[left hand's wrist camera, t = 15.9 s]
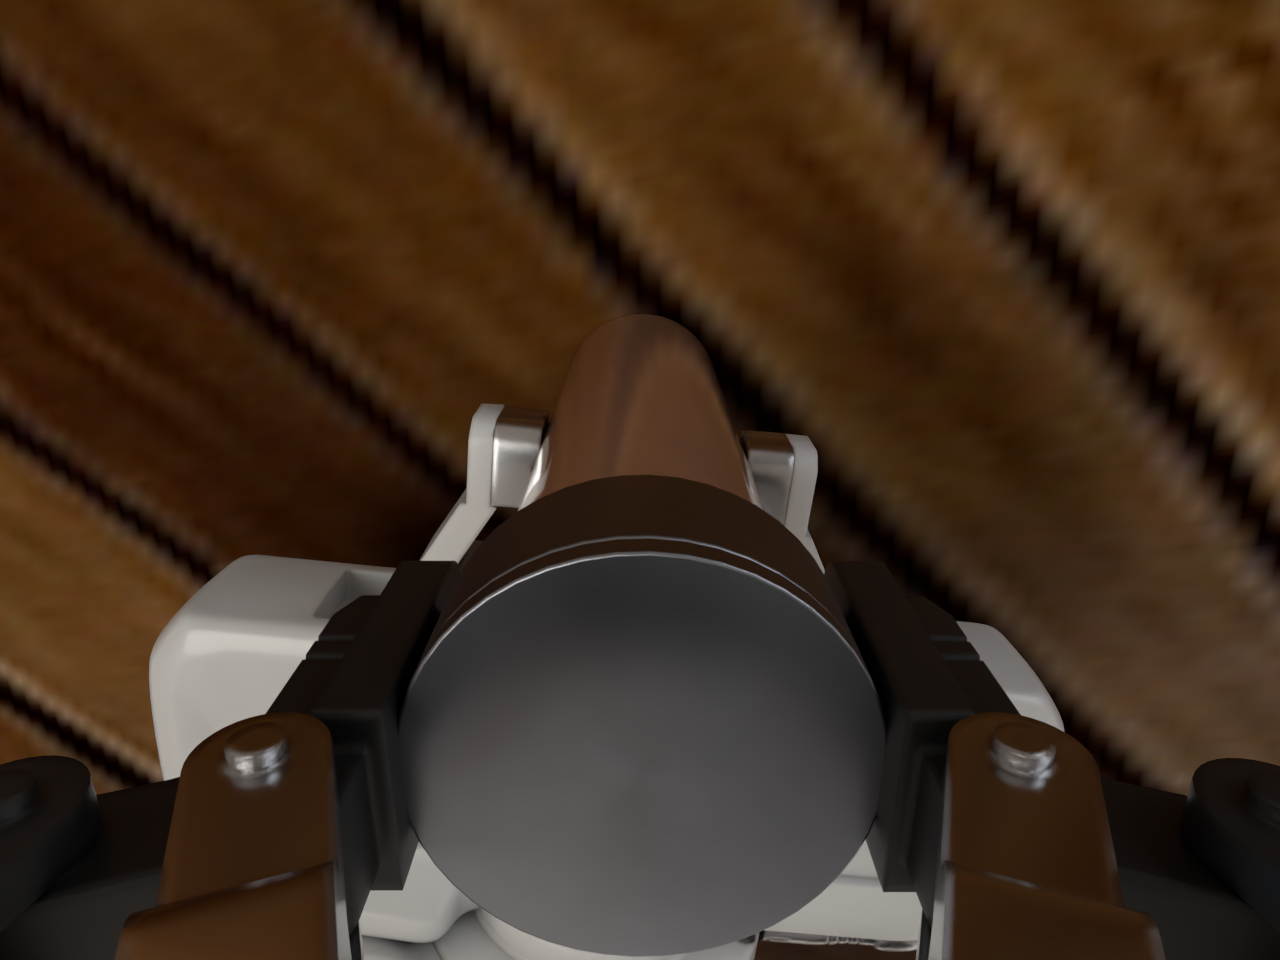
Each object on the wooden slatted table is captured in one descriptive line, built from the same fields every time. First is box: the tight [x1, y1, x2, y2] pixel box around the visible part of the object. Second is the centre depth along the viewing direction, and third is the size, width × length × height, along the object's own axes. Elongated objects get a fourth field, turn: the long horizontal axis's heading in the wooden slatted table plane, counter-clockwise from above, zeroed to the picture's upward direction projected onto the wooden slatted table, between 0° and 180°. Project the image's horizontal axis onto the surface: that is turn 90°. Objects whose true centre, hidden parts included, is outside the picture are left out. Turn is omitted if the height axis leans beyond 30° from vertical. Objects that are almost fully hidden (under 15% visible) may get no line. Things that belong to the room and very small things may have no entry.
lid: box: [398, 475, 887, 957], centre depth 10 cm, size 5×5×2 cm
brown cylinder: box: [518, 314, 766, 512], centre depth 17 cm, size 4×4×16 cm
